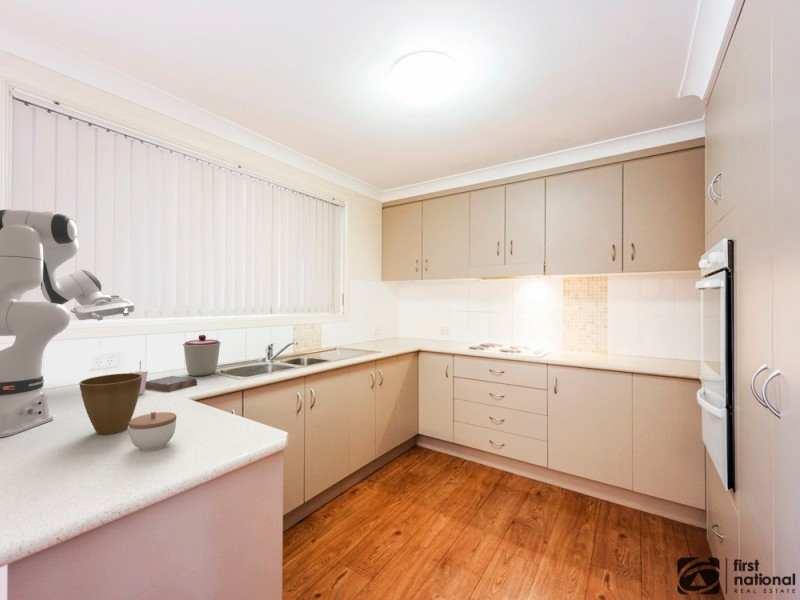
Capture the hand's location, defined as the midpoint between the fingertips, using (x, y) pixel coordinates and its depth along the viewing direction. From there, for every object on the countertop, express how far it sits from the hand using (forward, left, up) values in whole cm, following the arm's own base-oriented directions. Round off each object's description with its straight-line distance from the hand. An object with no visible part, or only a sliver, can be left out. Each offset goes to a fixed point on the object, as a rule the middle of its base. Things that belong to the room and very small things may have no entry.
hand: (114, 316), depth 153 cm
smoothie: (-5, -11, -33) cm, 35 cm away
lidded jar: (-67, -39, -33) cm, 84 cm away
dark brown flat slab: (+7, -19, -32) cm, 38 cm away
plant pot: (-51, -22, -33) cm, 64 cm away
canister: (+33, -25, -33) cm, 53 cm away
